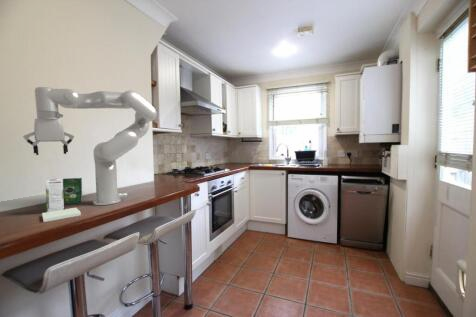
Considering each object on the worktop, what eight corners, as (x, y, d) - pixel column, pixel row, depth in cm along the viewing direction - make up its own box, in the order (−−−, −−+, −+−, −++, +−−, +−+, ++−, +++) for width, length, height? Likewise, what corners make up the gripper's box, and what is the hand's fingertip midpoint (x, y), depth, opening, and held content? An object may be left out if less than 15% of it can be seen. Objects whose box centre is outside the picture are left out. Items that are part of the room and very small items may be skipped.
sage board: (76, 210, 102) (76, 207, 102) (80, 215, 94) (80, 212, 94) (42, 215, 94) (41, 213, 94) (43, 222, 86) (43, 219, 86)
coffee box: (83, 201, 118) (82, 177, 118) (82, 202, 116) (81, 177, 115) (64, 203, 115) (63, 178, 114) (63, 204, 112) (61, 179, 111)
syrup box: (48, 210, 102) (46, 179, 101) (64, 208, 105) (62, 178, 104) (46, 213, 97) (44, 181, 96) (63, 211, 100) (61, 179, 100)
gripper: (71, 118, 107) (74, 153, 108) (21, 115, 95) (25, 155, 96) (73, 116, 101) (76, 153, 103) (20, 113, 89) (25, 155, 91)
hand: (51, 154), depth 99 cm, fingers open, 9 cm apart
